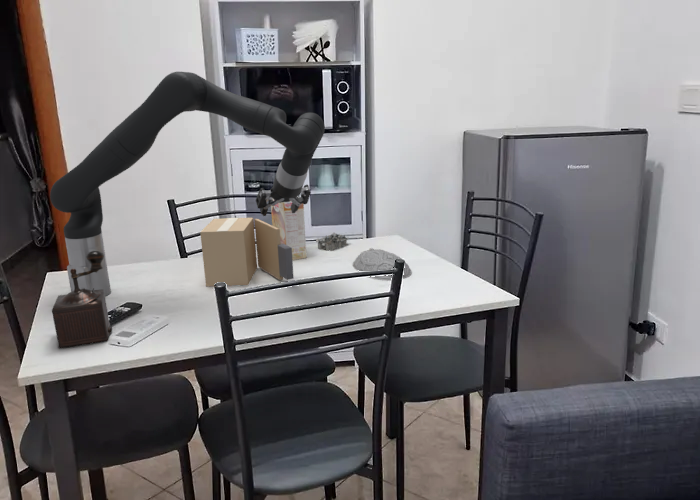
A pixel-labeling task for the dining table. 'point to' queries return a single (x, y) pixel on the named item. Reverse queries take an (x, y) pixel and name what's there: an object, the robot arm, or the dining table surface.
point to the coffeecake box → (290, 227)
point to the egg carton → (332, 241)
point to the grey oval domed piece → (378, 263)
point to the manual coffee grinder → (82, 311)
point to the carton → (229, 251)
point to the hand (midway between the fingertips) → (278, 212)
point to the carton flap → (273, 251)
